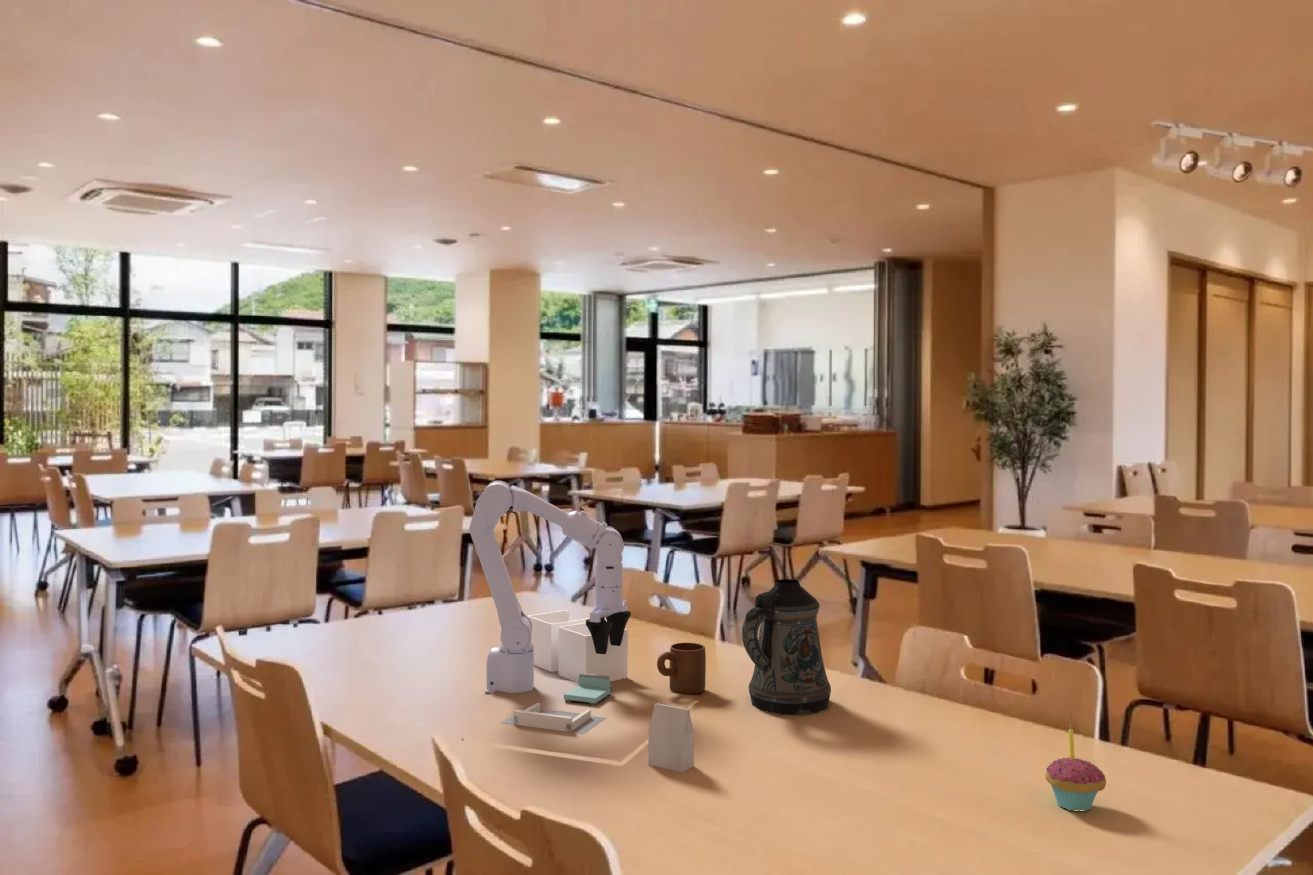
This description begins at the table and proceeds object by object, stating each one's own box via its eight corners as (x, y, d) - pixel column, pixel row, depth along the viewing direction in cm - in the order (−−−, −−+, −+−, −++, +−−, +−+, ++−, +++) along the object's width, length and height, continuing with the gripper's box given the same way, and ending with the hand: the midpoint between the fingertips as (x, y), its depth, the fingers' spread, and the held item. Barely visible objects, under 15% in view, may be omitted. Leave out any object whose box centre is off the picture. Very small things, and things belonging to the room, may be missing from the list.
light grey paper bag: (682, 773, 168) (682, 713, 168) (648, 764, 172) (648, 706, 172) (693, 766, 171) (694, 707, 171) (660, 758, 175) (660, 700, 175)
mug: (669, 702, 207) (670, 656, 207) (645, 693, 213) (646, 649, 212) (712, 691, 215) (713, 647, 214) (688, 683, 220) (689, 640, 220)
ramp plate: (545, 710, 199) (545, 709, 199) (556, 706, 204) (557, 705, 204) (587, 715, 196) (587, 715, 196) (598, 711, 201) (598, 710, 201)
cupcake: (1035, 795, 159) (1036, 720, 159) (1087, 794, 160) (1089, 718, 160) (1061, 818, 151) (1063, 738, 150) (1116, 817, 152) (1118, 737, 151)
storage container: (526, 662, 238) (526, 615, 237) (566, 655, 245) (566, 610, 244) (585, 687, 218) (586, 636, 218) (627, 678, 225) (627, 629, 224)
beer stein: (839, 697, 211) (841, 577, 210) (813, 725, 193) (815, 593, 192) (763, 687, 218) (764, 571, 217) (731, 713, 200) (732, 586, 199)
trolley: (563, 705, 205) (563, 681, 204) (581, 694, 212) (581, 671, 212) (595, 709, 202) (595, 685, 202) (611, 698, 209) (612, 675, 209)
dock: (501, 726, 191) (501, 709, 191) (526, 711, 201) (526, 695, 200) (583, 737, 185) (583, 720, 185) (605, 721, 194) (606, 704, 194)
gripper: (612, 593, 207) (611, 659, 208) (639, 581, 221) (639, 643, 221) (580, 590, 210) (580, 656, 210) (609, 578, 223) (609, 640, 224)
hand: (608, 649), depth 216 cm, fingers open, 7 cm apart
